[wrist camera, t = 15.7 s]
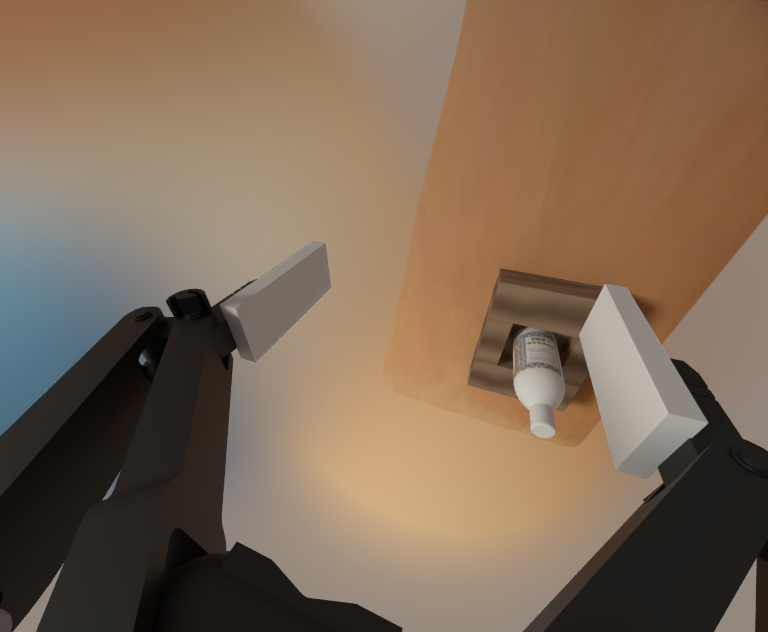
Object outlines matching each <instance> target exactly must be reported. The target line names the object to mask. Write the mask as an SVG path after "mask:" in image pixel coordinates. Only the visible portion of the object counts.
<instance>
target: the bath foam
mask: <svg viewBox="0 0 768 632" xmlns="http://www.w3.org/2000/svg"><path fill="white" fill-rule="evenodd" d="M513 381H514V389H515V392H516V395H517V397H518V399H519V400H520V401H521V403H522V404H523V405H524V406H525V407H526V408H527V409H528V410H529V411H530V421H531V431H532V433H533V434H534V435H536V436H537V437H540V438H551V437H553V436H554V435H555V434H556V427H555V420H554V414H553V412H554V411H555V410H556V409H557V408H558V407H559V405H560V404H561V402H562V401H563V398H564V395H565V382H564V377H563V372H562V367H561V362H560V357H559V352H558V347H557V342H556V338H555V335H554V334H553V332H550V331H546V330H541V329H537V328H532V327H528V326H525V327H522V328H521V329H519V330H518V331H517V332H516V333H515V335H514V338H513Z"/></svg>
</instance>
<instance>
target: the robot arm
mask: <svg viewBox="0 0 768 632" xmlns="http://www.w3.org/2000/svg"><path fill="white" fill-rule="evenodd" d="M330 287H331V283H330V275H329V267H328V260H327V252H326V244H325V243H322V242H315V241H313V242H311V243H310V244H308V245H307V246H305V247H304V248H302V249H301V250H299V251H298V252H296V253H295V254H293V255H292V256H291V257H289V258H288V259H286V260H285V261H283V262H282V263H280V264H279V265H277V266H276V267H274V268H273V269H271V270H270V271H269V272H267V273H265V274H264V275H263V276H261V277H260V278H258V279H256V280H253V281H251V282H249V283H247V284H246V285H244V286H242V287H241V289H238V290H236V291H235V292H234V294H231V295H229V296H227V297H226V298H225V299H223V300H222V301H220V302H219V303H217V304H216V305H214V306H213V307H211V306H210V303H209V301H208V299H207V296H206V294H205V292H204V291H203V290H201V289H188V290H184V291H180V292H178V293H175V294H173V295H172V296H170V297H169V298H168V299H167V300H166V302H167V304H168V306H169V308H170V310H171V312H172V314H173V315H174V317H165V316H164V315H163V313H162V311H161V309H160V308H158V307H142V308H140V309H136V310H134V311H132V312H130V313H128V314H127V315H126V316H124V317H123V318H122V319H121V320H120V321H119V322H118V323H117V324H116V325H115V326H114V327H113V328H112V329H111V330H110V331H109V332H108V333H107V334H106V335H105V336H103V337H102V338H101V339H100V340H99V341H98V342H97V343H96V344H95V345H94V346H93V347H92V348H91V349H90V350H89V351H88V352H87V353H86V354H85V355H84V356H83V357H82V358H81V359H80V360H79V361H78V362H77V363H76V364H75V365H74V366H72V367H71V368H70V369H69V370H68V371H67V372H66V373H65V374H64V375H63V376H62V377H61V378H60V379H59V380H58V381H57V382H56V383H55V384H54V385H53V386H52V387H51V388H50V389H49V390H48V391H47V392H46V393H45V394H44V395H43V396H42V397H41V398H39V399H38V400H37V402H35V403H34V404H33V405H32V406H31V407H30V408H29V409H28V410H27V411H26V412H25V413H24V414H23V415H22V416H21V417H20V418H19V419H18V420H17V421H16V422H15V423H14V424H13V425H12V426H11V427H10V428H9V429H8V430H7V431H5V432H4V433H3V434H2V435H1V436H0V632H13V631H14V629H15V628H16V627H17V626H18V625H19V623H20V622H21V621H22V620H23V619H24V617H25V616H26V615H27V614H28V613H29V611H30V610H31V608H32V607H33V606H34V604H35V603H36V602H37V600H38V599H39V598H40V596H41V595H42V594H43V592H44V591H45V589H46V588H47V587H48V586H49V584H50V583H51V581H52V580H53V578H54V577H55V575H56V574H57V572H58V571H59V569H60V568H61V566H62V564H63V563H64V565H63V568H62V570H61V572H60V575H59V577H58V579H57V582H56V585H55V587H54V589H53V592H52V594H51V597H50V599H49V602H48V604H47V606H46V609H45V611H44V614H43V616H42V619H41V621H40V623H39V626H38V628H37V631H36V632H402V628H401V627H399V626H397V625H395V624H394V623H392V622H390V621H388V620H386V619H384V618H382V617H380V616H378V615H376V614H375V613H373V612H371V611H369V610H367V609H365V608H363V607H361V606H359V605H357V604H353V603H345V602H337V601H328V600H321V599H313V598H307V597H305V596H304V595H302V594H301V592H300V591H299V590H298V589H297V588H296V587H295V586H294V584H293V583H292V582H291V581H290V580H289V579H288V578H287V576H286V575H285V574H284V573H283V572H282V571H281V570H280V568H279V567H278V566H277V565H276V564H275V563H274V562H273V561H272V560H271V559H269V558H267V557H265V556H263V555H261V554H260V553H258V552H256V551H254V550H252V549H250V548H248V547H246V546H244V545H243V544H241V543H239V542H236V544H235V545H234V546H233V548H232V550H231V551H226V541H225V535H224V531H223V527H222V504H223V491H224V477H225V464H226V449H227V436H228V423H229V409H230V395H231V382H232V368H233V357H232V354H231V352H232V351H233V350H235V349H236V348H237V349H238V351H239V354H240V356H241V358H243V359H246V360H250V361H253V362H256V361H257V360H258V359H259V358H260V357H261V356H262V355H263V354H264V353H265V352H266V351H267V350H268V349H269V348H270V347H271V346H272V345H273V344H274V343H275V342H276V341H277V340H278V339H279V338H280V337H281V336H282V335H283V334H284V333H285V332H286V331H287V330H288V329H289V328H290V327H291V326H292V325H293V324H294V323H295V322H297V320H299V319H300V317H302V315H304V314H305V313H306V312H307V311H308V309H310V308H311V306H313V305H314V304H315V303H316V302H317V300H319V298H321V296H323V294H325V293H326V292H327V291H328V290H329V289H330ZM579 337H580V341H581V344H582V348H583V352H584V356H585V359H586V363H587V367H588V370H589V374H590V378H591V381H592V385H593V389H594V392H595V396H596V400H597V403H598V407H599V411H600V414H601V418H602V422H603V425H604V429H605V433H606V436H607V440H608V444H609V448H610V451H611V454H612V458H613V462H614V466H615V469H616V470H617V471H621V472H624V473H627V474H631V475H634V476H638V477H641V478H644V479H647V478H648V477H649V476H650V475H651V474H653V473H654V472H655V471H656V470H657V469H659V472H660V475H661V477H662V480H663V482H664V483H663V484H662V485H660V486H659V487H658V488H657V489H656V490H654V491H653V492H652V493H651V494H650V495H648V496H647V497H646V498H645V499H644V500H643V501H645V502H644V503H643V504H642V505H641V506H640V507H639V508H638V509H637V510H636V511H635V512H634V513H633V515H632V516H631V517H630V518H629V519H628V520H627V521H626V522H625V523H624V524H623V525H622V526H621V527H620V529H618V531H617V532H616V533H615V534H614V535H613V536H612V537H611V538H610V539H609V540H608V541H607V542H606V543H605V545H603V547H602V548H601V549H600V550H599V551H598V552H597V553H596V554H595V555H594V556H593V557H592V558H591V559H590V560H589V561H588V563H587V564H586V565H585V566H584V567H583V568H582V569H581V570H580V571H579V572H578V573H577V574H576V575H575V576H574V578H573V579H572V580H571V581H570V582H569V583H568V584H567V585H566V586H565V587H564V588H563V589H562V590H561V592H559V594H558V595H557V596H556V597H555V598H554V599H553V600H552V601H551V602H550V603H549V604H548V605H547V607H545V608H544V610H543V611H542V612H541V613H540V614H539V615H538V616H537V617H536V618H535V619H534V620H533V621H532V623H530V624H529V626H528V627H527V628H526V629H525V630H524V631H523V632H714V631H715V629H716V627H717V625H718V624H719V622H720V620H721V618H722V617H723V615H724V613H725V612H726V610H727V608H728V606H729V605H730V603H731V601H732V599H733V598H734V596H735V594H736V592H737V591H738V589H739V587H740V585H741V584H742V582H743V580H744V579H745V577H746V575H747V573H748V572H749V570H750V568H751V567H752V565H753V563H754V561H755V560H756V558H757V574H756V622H755V625H756V626H755V632H768V451H767V450H765V449H764V448H761V447H760V446H757V445H756V444H753V443H752V442H749V441H747V440H744V439H743V438H742V437H741V435H740V434H739V432H738V431H737V429H736V428H735V426H734V425H733V424H732V422H731V421H730V419H729V418H728V416H727V414H726V413H725V412H724V410H723V409H722V407H721V406H720V404H719V403H718V401H715V397H714V395H713V394H712V392H711V391H710V390H708V389H707V388H708V386H707V385H706V384H705V382H704V380H703V379H702V378H701V376H700V375H699V374H698V373H697V372H696V371H695V370H694V369H692V368H691V367H690V366H689V365H688V364H686V363H685V362H684V361H681V360H675V359H670V358H669V357H668V355H667V353H666V352H665V350H664V348H663V347H662V345H661V343H660V342H659V340H658V338H657V337H656V335H655V333H654V332H653V330H652V328H651V327H650V325H649V323H648V322H647V320H646V318H645V317H644V315H643V313H642V312H641V310H640V308H639V307H638V305H637V303H636V302H635V300H634V298H633V297H632V295H631V293H630V292H629V290H628V288H627V287H623V286H616V285H610V284H605V285H604V287H603V289H602V291H601V293H600V295H599V297H598V298H597V300H596V302H595V304H594V306H593V308H592V310H591V312H590V314H589V316H588V318H587V320H586V322H585V324H584V326H583V328H582V330H581V332H580V334H579ZM141 353H142V354H143V356H144V357H145V359H146V360H147V361H146V362H145V363H144V365H141V364H140V363H139V357H140V355H141ZM121 468H122V469H121ZM120 470H121V472H120ZM119 472H120V475H119V478H118V480H117V483H116V486H115V489H114V491H113V493H112V495H111V496H110V497H109V498H108V499H106V500H103V501H102V499H103V498H104V496H105V495H106V493H107V491H108V490H109V488H110V487H111V485H112V483H113V482H114V480H115V478H116V477H117V475H118V473H119Z"/></svg>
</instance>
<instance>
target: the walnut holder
mask: <svg viewBox="0 0 768 632" xmlns="http://www.w3.org/2000/svg"><path fill="white" fill-rule="evenodd" d="M602 289H603V287H601V286H596V285H590V284H584V283H579V282H573V281H568V280H562V279H557V278H551V277H545V276H540V275H534V274H529V273H523V272H518V271H512V270H506V269H501V268H500V272H499V275H498V278H497V281H496V285H495V288H494V291H493V295H492V298H491V301H490V304H489V308H488V311H487V314H486V317H485V321H484V324H483V327H482V331H481V334H480V337H479V340H478V344H477V347H476V350H475V353H474V357H473V360H472V363H471V366H470V371H469V378H468V385H470V386H474V387H478V388H481V389H485V390H488V391H492V392H495V393H499V394H502V395H506V396H510V397H513V398H517V399H518V397H517V395H516V392H515V389H514V381H513V338H514V335H515V333H516V332H517V331H518V330H519V329H521V328H522V327H525V326H528V327H532V328H537V329H541V330H546V331H550V332H553V334H554V335H555V338H556V342H557V347H558V352H559V357H560V362H561V367H562V372H563V377H564V382H565V395H564V398H563V401H562V402H561V404H560V405H559V407H558V408H557V409H556V410H559V411H563V412H564V411H565V409H566V408H567V406H568V405H569V403H570V401H571V400H572V398H573V397H574V395H575V394H576V392H577V391H578V389H579V388H580V386H581V385H582V383H583V382H584V380H585V379H586V377H587V376H588V374H589V370H588V367H587V363H586V359H585V356H584V352H583V348H582V344H581V341H580V337H579V334H580V332H581V330H582V328H583V326H584V324H585V322H586V320H587V318H588V316H589V314H590V312H591V310H592V308H593V306H594V304H595V302H596V300H597V298H598V297H599V295H600V293H601V291H602Z"/></svg>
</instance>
